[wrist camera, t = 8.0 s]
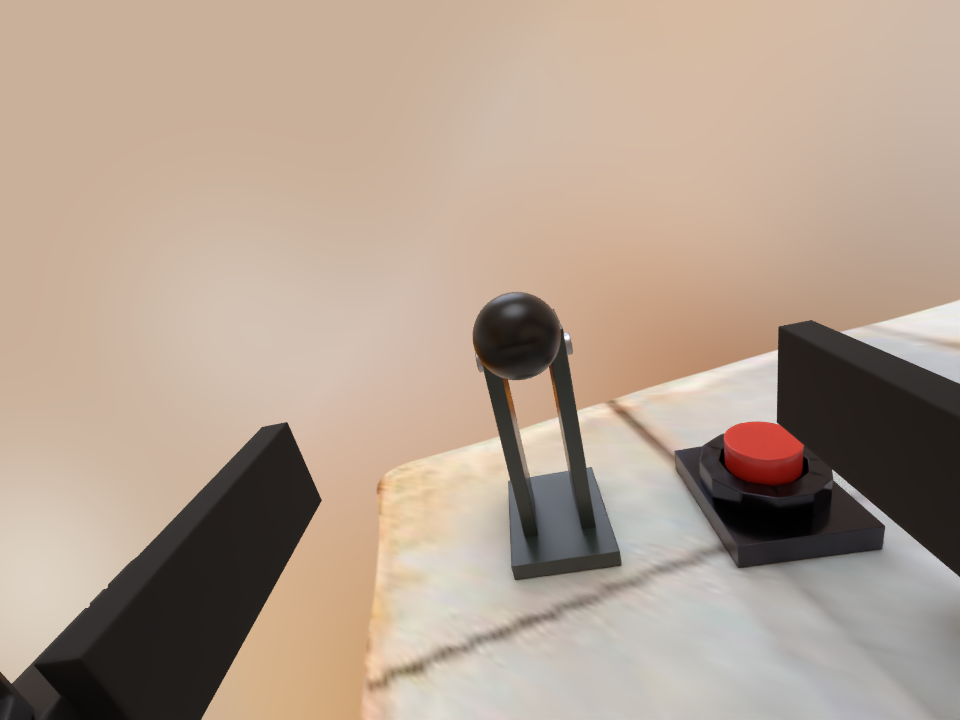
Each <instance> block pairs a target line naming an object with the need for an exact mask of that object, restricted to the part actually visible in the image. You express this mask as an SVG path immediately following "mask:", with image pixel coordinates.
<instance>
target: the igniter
mask: <svg viewBox="0 0 960 720" xmlns="http://www.w3.org/2000/svg"><path fill="white" fill-rule="evenodd" d="M803 454H804V445H803V444H802V443H801V442H800V441H798V440H797V439H796V438H795V437H794V436H792V435H791V434H790V433H789V432H788V431H787V430H785V429H784V428H783V427H782V426H781V425H778V424H774V423H768V422H746V423H741V424H737V425H735V426H733V427H731V428H729V429H728V430H727V431H726V433H725V434H724V462H725V465H726V467H727V469H728V470H729V471H730V472H731V473H732V474H733V475H735V476H737V477H739V478H741V479H743V480H745V481H747V482H754V483H761V484H768V485H779V484H785V483H791V482H794V481H795V480H797V479H798V478H799V477H800V476H801V474H802V472H803Z"/></svg>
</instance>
